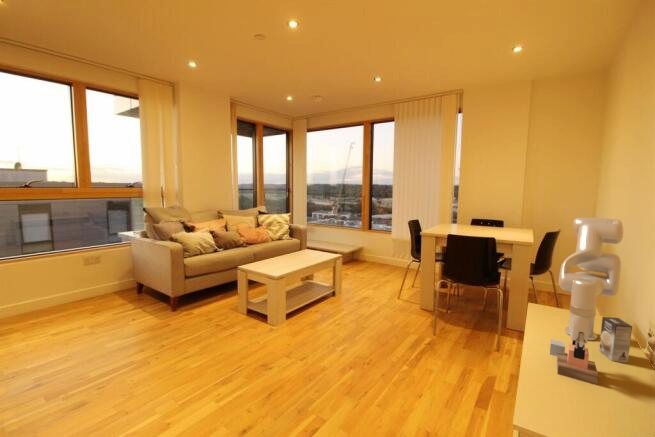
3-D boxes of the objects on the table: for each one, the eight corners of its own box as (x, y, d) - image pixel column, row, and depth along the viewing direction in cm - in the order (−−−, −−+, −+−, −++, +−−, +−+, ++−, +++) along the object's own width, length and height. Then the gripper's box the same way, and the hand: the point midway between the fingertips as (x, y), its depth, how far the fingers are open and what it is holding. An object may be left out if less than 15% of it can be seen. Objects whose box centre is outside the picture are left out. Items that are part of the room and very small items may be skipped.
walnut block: (556, 361, 134) (557, 352, 134) (593, 371, 127) (594, 362, 127) (557, 375, 124) (558, 365, 124) (597, 386, 118) (598, 376, 117)
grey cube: (549, 349, 143) (550, 339, 143) (563, 353, 140) (564, 342, 140) (549, 354, 139) (550, 343, 139) (563, 358, 136) (565, 347, 136)
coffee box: (597, 350, 143) (601, 316, 142) (614, 352, 142) (618, 317, 141) (611, 361, 134) (615, 324, 133) (629, 363, 133) (633, 326, 132)
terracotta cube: (567, 357, 130) (568, 343, 129) (586, 362, 126) (587, 348, 126) (567, 364, 125) (569, 349, 124) (587, 369, 121) (588, 354, 121)
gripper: (569, 302, 133) (565, 341, 134) (571, 316, 119) (566, 359, 120) (592, 306, 128) (588, 346, 130) (597, 321, 114) (592, 366, 116)
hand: (577, 352), depth 125 cm, fingers open, 9 cm apart
